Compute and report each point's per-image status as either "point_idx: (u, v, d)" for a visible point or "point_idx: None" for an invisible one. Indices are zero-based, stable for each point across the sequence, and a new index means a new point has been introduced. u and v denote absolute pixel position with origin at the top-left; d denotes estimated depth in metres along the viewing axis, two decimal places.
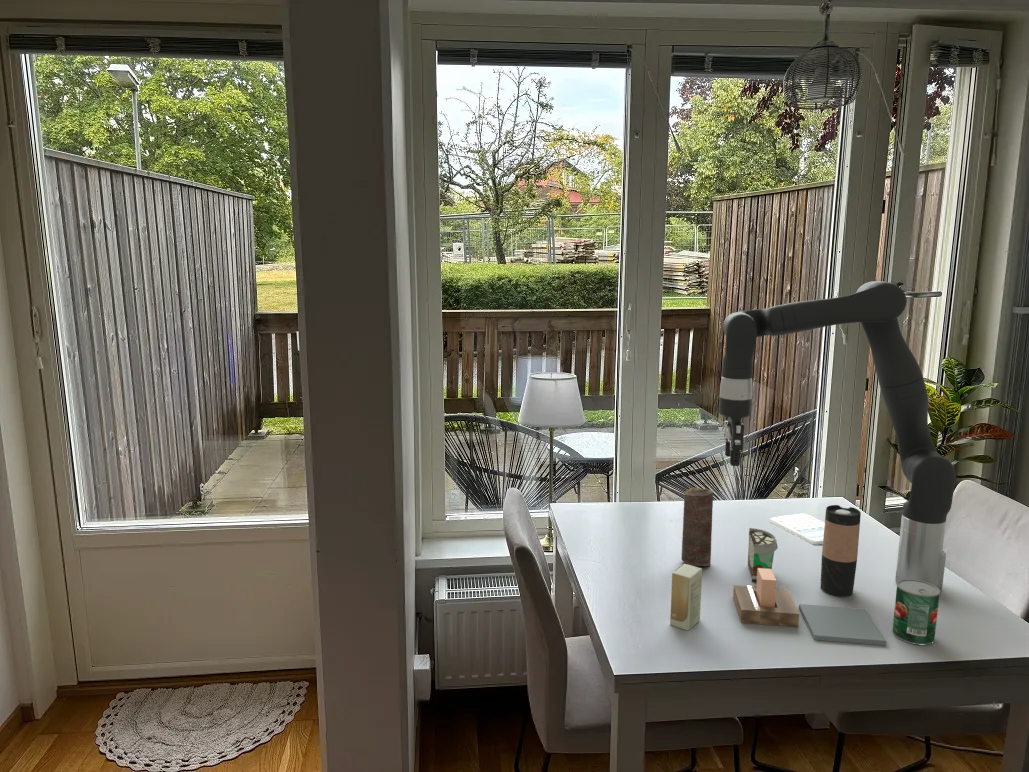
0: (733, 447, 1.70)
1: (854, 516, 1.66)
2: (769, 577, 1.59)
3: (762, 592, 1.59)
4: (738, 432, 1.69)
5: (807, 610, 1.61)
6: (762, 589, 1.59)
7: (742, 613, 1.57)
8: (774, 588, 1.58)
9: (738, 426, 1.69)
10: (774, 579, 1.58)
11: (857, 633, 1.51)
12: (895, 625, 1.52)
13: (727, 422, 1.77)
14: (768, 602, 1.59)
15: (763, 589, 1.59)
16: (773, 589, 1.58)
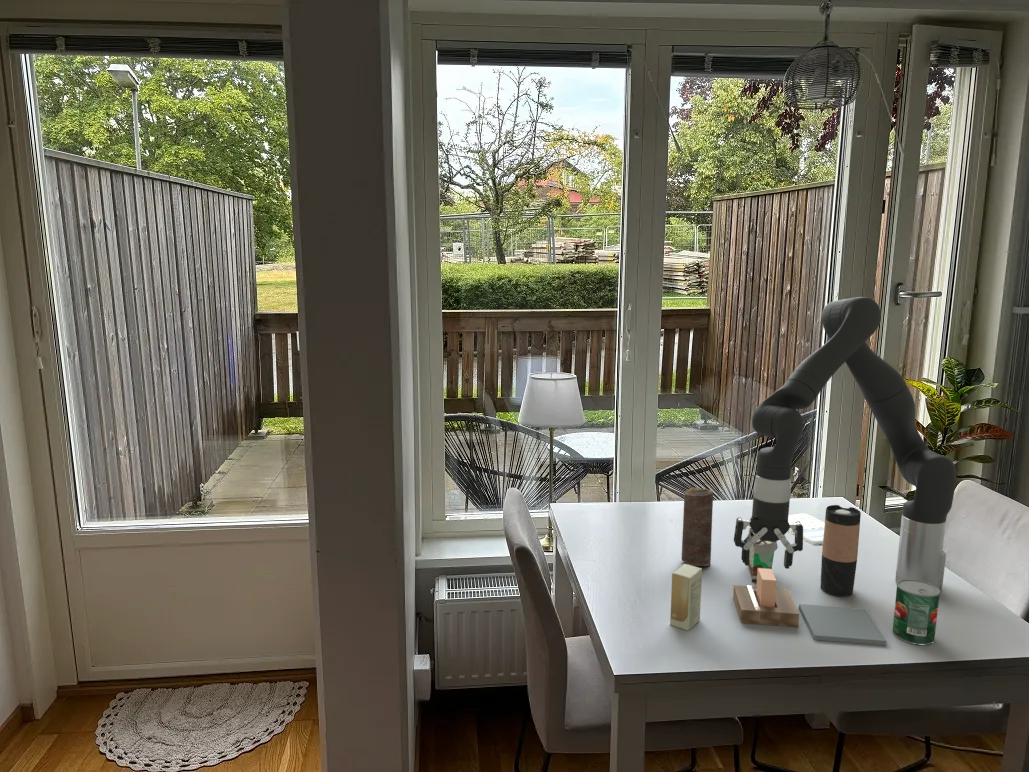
0: None
1: (854, 516, 1.66)
2: (769, 577, 1.59)
3: (762, 592, 1.59)
4: None
5: (807, 610, 1.61)
6: (762, 589, 1.59)
7: (742, 613, 1.57)
8: (774, 588, 1.58)
9: (801, 524, 1.58)
10: (774, 579, 1.58)
11: (857, 633, 1.51)
12: (895, 625, 1.52)
13: (766, 527, 1.58)
14: (768, 602, 1.59)
15: (763, 589, 1.59)
16: (773, 590, 1.58)
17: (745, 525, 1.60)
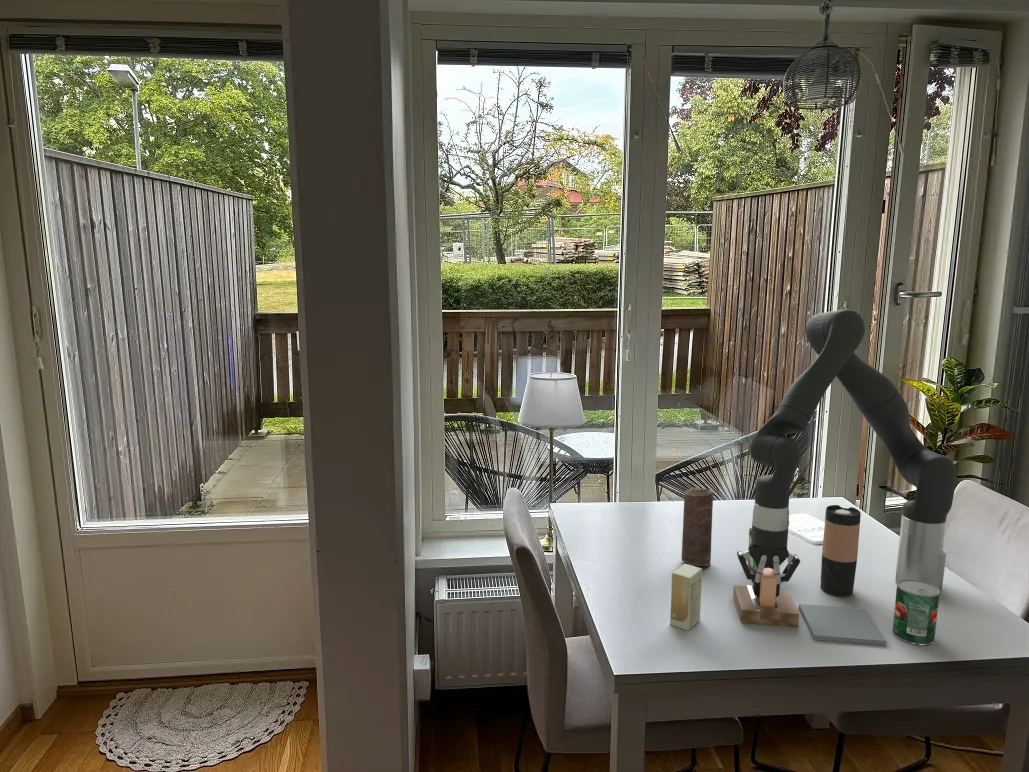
0: None
1: (854, 516, 1.66)
2: (769, 576, 1.59)
3: (762, 591, 1.59)
4: None
5: (807, 610, 1.61)
6: (762, 588, 1.59)
7: (742, 613, 1.57)
8: (774, 587, 1.58)
9: (798, 559, 1.59)
10: (774, 578, 1.58)
11: (857, 633, 1.51)
12: (895, 625, 1.52)
13: (764, 554, 1.59)
14: (768, 601, 1.59)
15: (763, 588, 1.59)
16: (773, 588, 1.58)
17: (746, 556, 1.61)
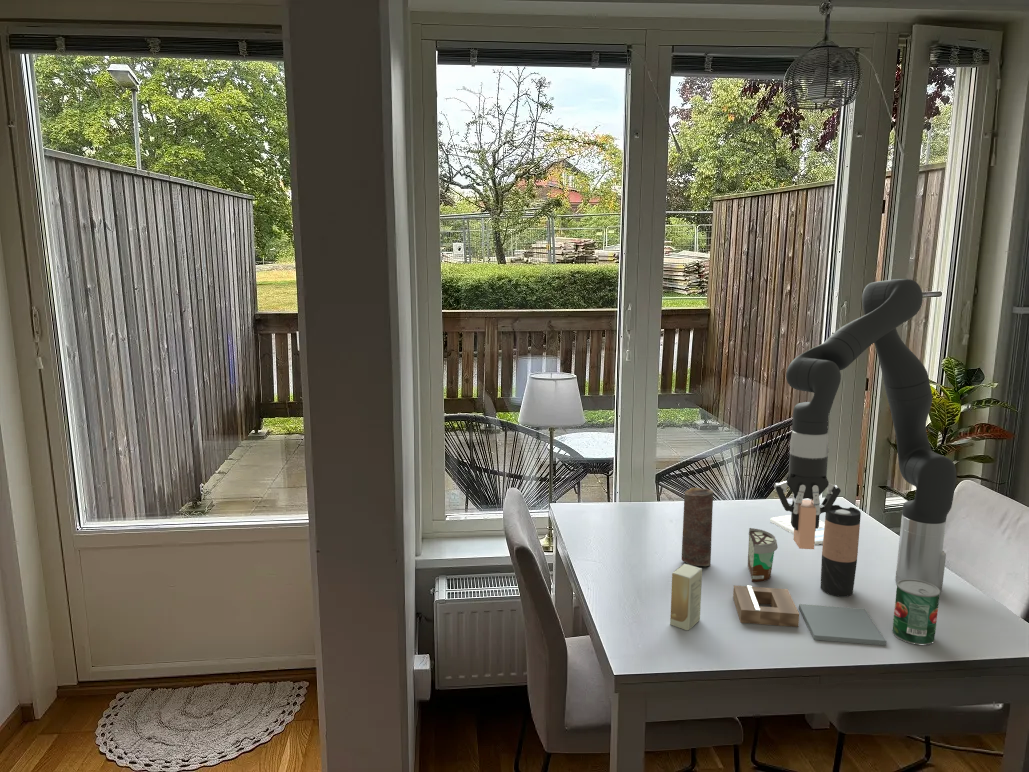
0: None
1: (854, 516, 1.66)
2: (808, 506, 1.54)
3: (801, 521, 1.53)
4: None
5: (807, 610, 1.61)
6: (801, 518, 1.53)
7: (742, 613, 1.57)
8: (814, 516, 1.53)
9: None
10: (813, 507, 1.53)
11: (857, 633, 1.51)
12: (895, 625, 1.52)
13: (803, 484, 1.53)
14: (808, 531, 1.53)
15: (802, 518, 1.53)
16: (812, 518, 1.53)
17: (784, 487, 1.55)
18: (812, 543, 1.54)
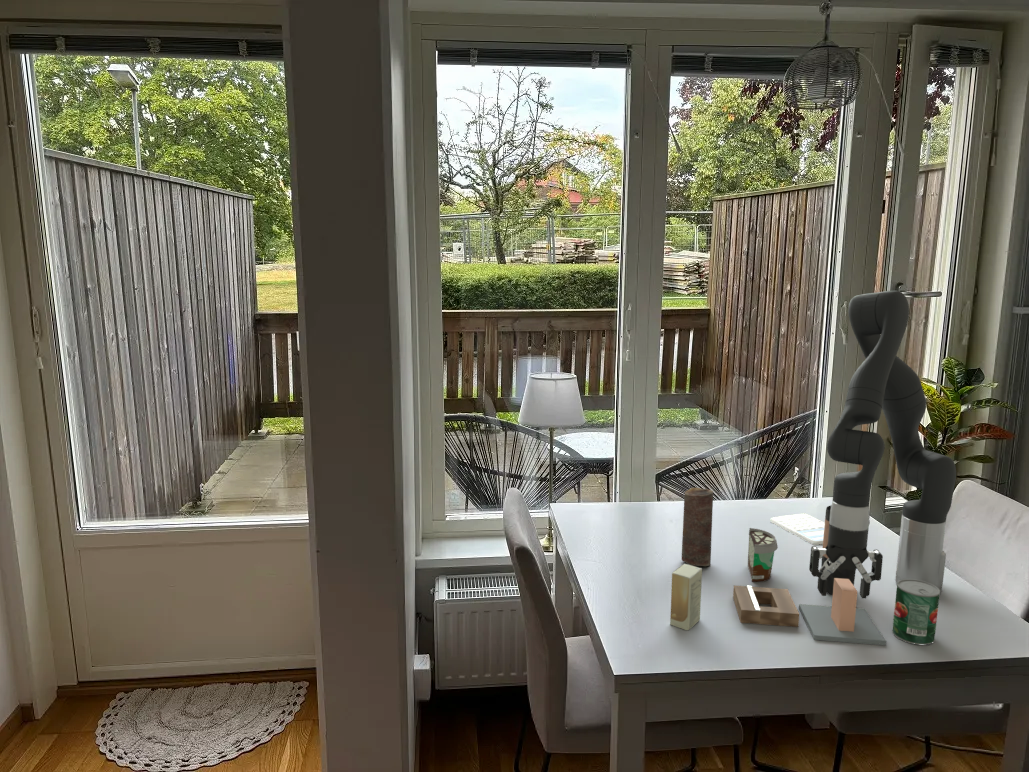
0: None
1: None
2: (849, 588, 1.52)
3: (842, 604, 1.51)
4: None
5: (807, 610, 1.61)
6: (842, 600, 1.51)
7: (742, 613, 1.57)
8: (855, 599, 1.51)
9: (880, 553, 1.52)
10: (855, 590, 1.51)
11: (857, 633, 1.51)
12: (895, 625, 1.52)
13: (843, 556, 1.52)
14: (848, 614, 1.51)
15: (843, 600, 1.51)
16: (853, 601, 1.51)
17: (821, 554, 1.54)
18: (852, 625, 1.52)
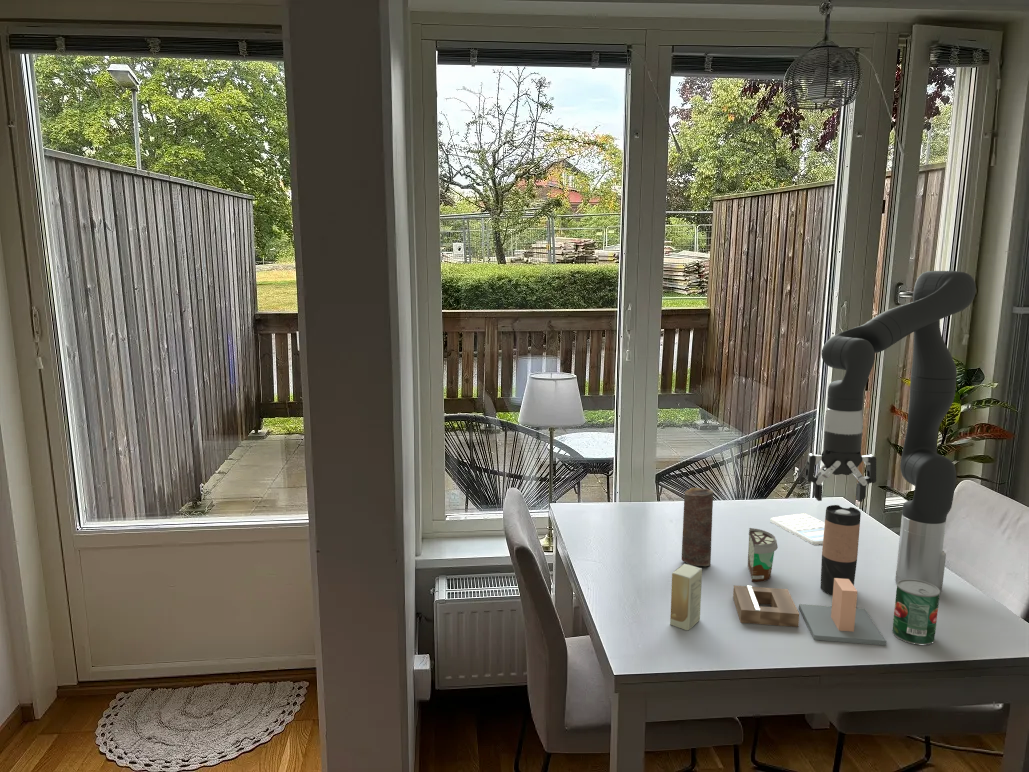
0: None
1: (854, 516, 1.66)
2: (849, 588, 1.52)
3: (842, 604, 1.51)
4: None
5: (807, 610, 1.61)
6: (842, 600, 1.51)
7: (742, 613, 1.57)
8: (855, 599, 1.51)
9: (873, 456, 1.58)
10: (855, 590, 1.51)
11: (857, 633, 1.51)
12: (895, 625, 1.52)
13: (839, 461, 1.57)
14: (848, 614, 1.51)
15: (843, 600, 1.51)
16: (853, 601, 1.51)
17: (817, 460, 1.59)
18: (852, 625, 1.52)
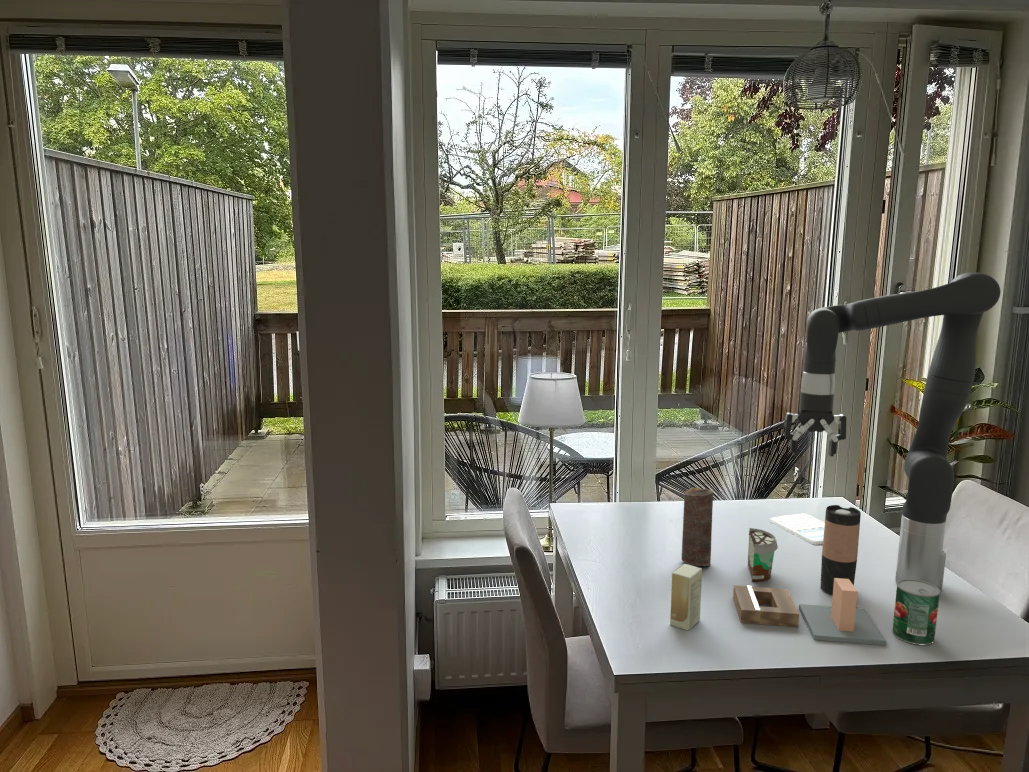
0: None
1: (854, 516, 1.66)
2: (849, 588, 1.52)
3: (842, 604, 1.51)
4: None
5: (807, 610, 1.61)
6: (842, 600, 1.51)
7: (742, 613, 1.57)
8: (855, 599, 1.51)
9: None
10: (855, 590, 1.51)
11: (857, 633, 1.51)
12: (895, 625, 1.52)
13: (813, 419, 1.77)
14: (848, 614, 1.51)
15: (843, 600, 1.51)
16: (853, 601, 1.51)
17: (794, 418, 1.78)
18: (852, 625, 1.52)
